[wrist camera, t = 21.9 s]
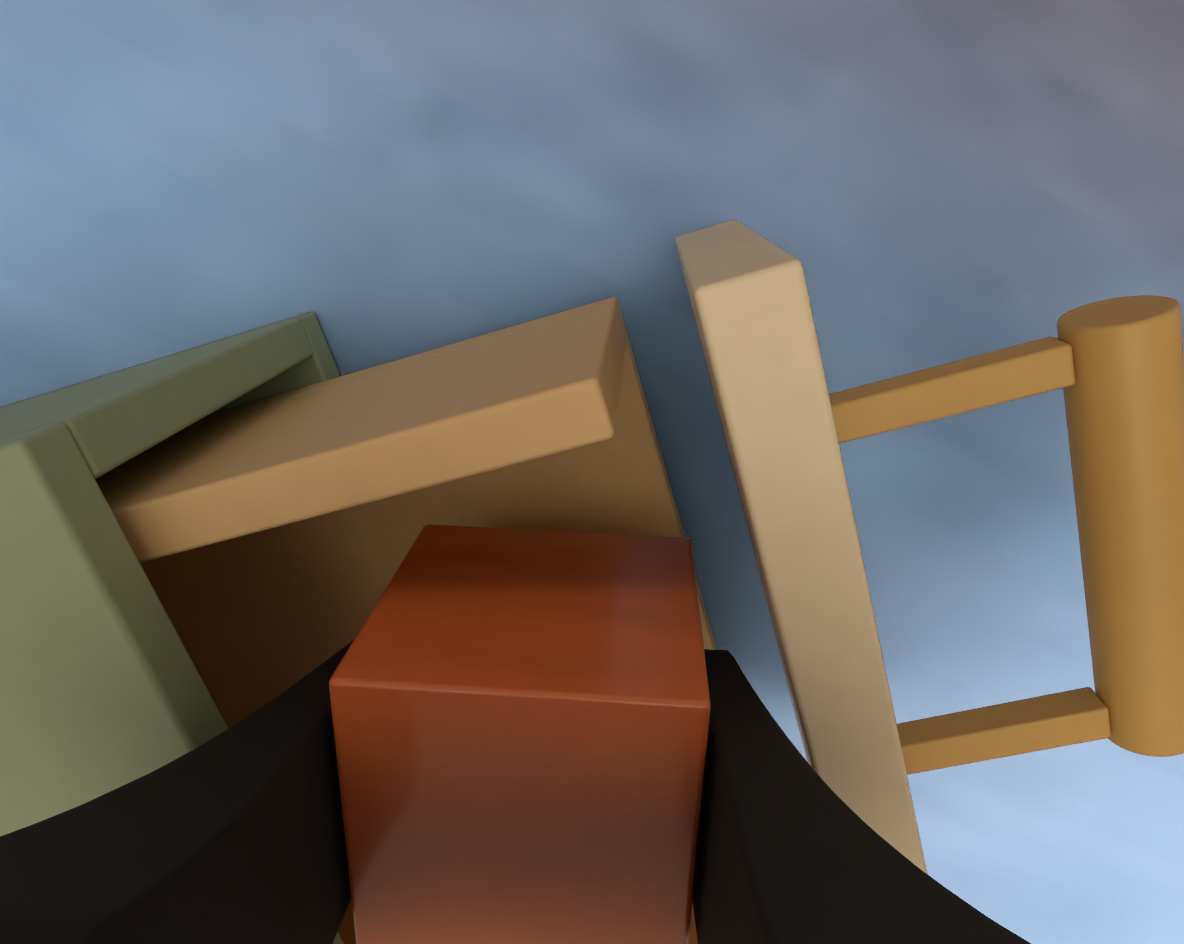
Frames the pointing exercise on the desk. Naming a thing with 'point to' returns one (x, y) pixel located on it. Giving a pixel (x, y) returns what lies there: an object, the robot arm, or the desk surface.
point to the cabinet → (108, 572)
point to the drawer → (647, 506)
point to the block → (525, 741)
